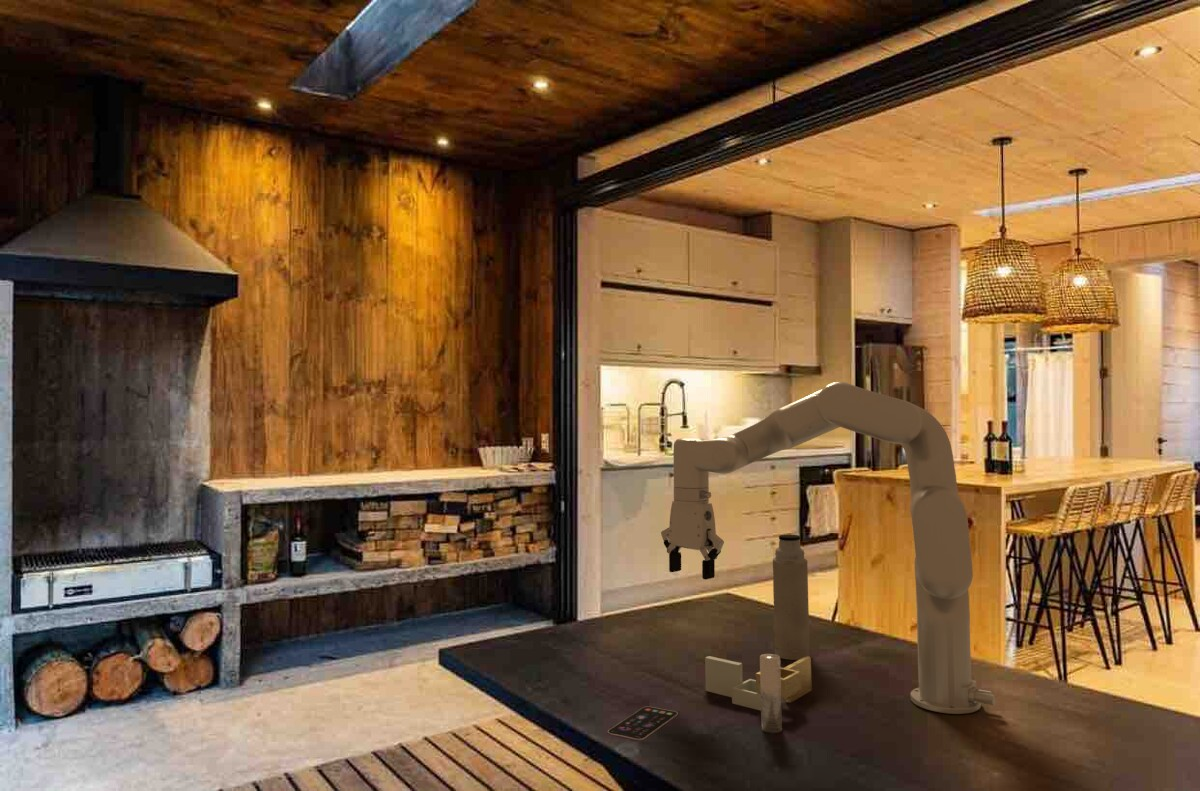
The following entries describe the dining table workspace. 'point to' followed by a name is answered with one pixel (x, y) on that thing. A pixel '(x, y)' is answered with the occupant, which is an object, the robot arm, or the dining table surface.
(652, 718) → the smartphone
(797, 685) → the fixed leaf
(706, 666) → the loose leaf
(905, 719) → the dining table surface
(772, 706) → the pin
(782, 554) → the thermos bottle
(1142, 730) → the dining table surface
